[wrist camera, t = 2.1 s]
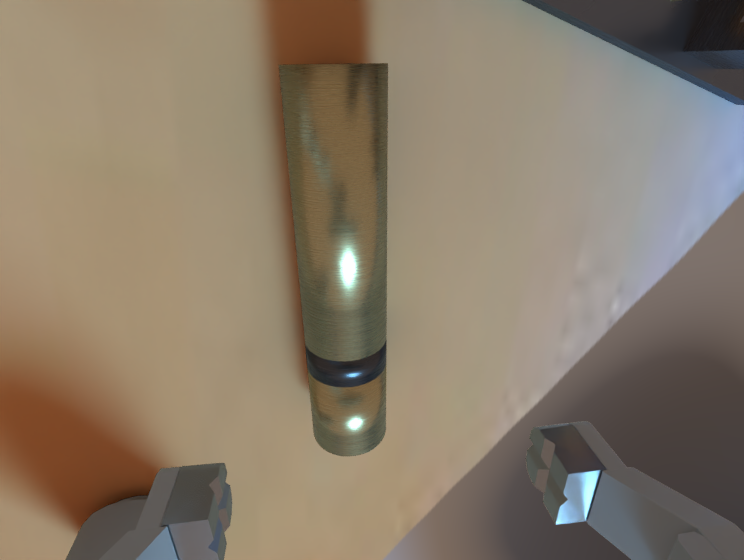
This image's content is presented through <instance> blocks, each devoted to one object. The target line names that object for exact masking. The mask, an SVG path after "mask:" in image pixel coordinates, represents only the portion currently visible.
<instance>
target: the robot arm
mask: <svg viewBox="0 0 744 560" xmlns="http://www.w3.org/2000/svg"><path fill="white" fill-rule="evenodd" d="M530 440H531V441H532V443H533V445H532V446H531V447H530V448H529V449H528V450H527V455H526V464H527V470H528V473H529V476H530V479H531V481H532V483H533V484H534V486H535V487H536V488H538V489H539V490H540V491H542V492H543V493H544V497H543V503H544V505H545V506H546V508H547V510H548V512H549V513H550V515H551V517H552V519H553V521H554V522H555V524H565V523H573V522H583V521H587V523H588V524H589V525H590V526H591V527H593V528H594V529H595V530H596V531H598V532H599V533H600V534H601V535H602V536H604V537H605V538H606V539H607V540H608V541H610V542H611V543H612V544H613V545H615V546H616V547H617V548H618V549H619V550H621V551H622V552H623V553H624V554H625V555H627V556H628V557H629V558H630V559H632V560H744V533H743V532H742V531H741V530H740V529H739V528H738V527H737V526H736V525H735V524H734V523H732V522H730V521H728V520H726V519H725V518H723V517H721V516H719V515H718V514H716V513H714V512H712V511H710V510H709V509H707V508H705V507H703V506H701V505H700V504H698V503H696V502H694V501H692V500H690V499H689V498H687V497H685V496H683V495H681V494H680V493H678V492H676V491H674V490H672V489H671V488H669V487H667V486H665V485H663V484H662V483H660V482H658V481H656V480H655V479H653V478H651V477H649V476H647V475H646V474H644V473H642V472H640V471H638V470H637V469H635V468H633V467H629V468H627V467H626V466H625V465H624V463H623V462H622V461H621V460H620V459H619V457H618V456H617V455H616V453H615V452H614V451H613V450H612V449H611V447H610V446H609V445H608V444H607V443H606V441H605V440H604V439H603V438H602V436H601V435H600V434H599V433H598V432H597V430H596V429H595V428H594V427H593V425H592V424H590V423H589V422H587V421H583V422H574V423H568V424H567V423H564V424H556V425H548V426H541V427H534V428H533V429H532V430H531V433H530ZM226 476H227V470H226V466H225V463H214V464H202V465H191V466H182V467H172V468H161V469H160V471H159V472H158V473H157V474H156V477H155V479H154V482H153V485H152V487H151V490H150V492H149V495H148V498H147V500H146V503H145V505H144V508H143V511H142V513H141V516H140V519H139V521H138V524H137V526H136V529H135V530H132V531H128V532H127V533H126V534H125V535H124V536H123V537H122V538H121V539H120V540H119V541H118V542H117V543H115V544H114V545H113V546H112V547H111V548H110V549H109V550H108V551H107V552H106V553H105V554H104V555H103V556H102V557H101V558H100V559H99V560H224V556H225V550H226V545H227V543H226V538H225V534H224V532H225V531H226V530H227V528H228V527H229V526H230V521H231V515H232V494H231V488H230V485H229V484H227V483H226Z"/></svg>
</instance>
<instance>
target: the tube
mask: <svg viewBox="0 0 744 560" xmlns="http://www.w3.org/2000/svg"><path fill="white" fill-rule="evenodd" d="M279 75H280V85H281V96H282V106H283V117H284V127H285V138H286V148H287V159H288V169H289V180H290V190H291V201H292V211H293V222H294V232H295V243H296V253H297V264H298V274H299V285H300V295H301V306H302V316H303V327H304V337H305V348H306V358H307V369H308V379H309V390H310V400H311V411H312V421H313V432H314V437H315V439H316V441H317V443H318V444H319V445H320V446H321V447H322V448H323V449H324V450H326V451H328V452H330V453H332V454H335V455H339V456H356V455H361V454H364V453H366V452H369V451H370V450H372V449H374V448H375V447H376V446H377V445H378V444H379V443H380V442H381V441H382V439H383V437H384V435H385V432H386V323H387V142H388V63H378V64H291V65H279Z"/></svg>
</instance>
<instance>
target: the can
mask: <svg viewBox="0 0 744 560" xmlns="http://www.w3.org/2000/svg"><path fill="white" fill-rule="evenodd" d="M147 498H148V496H135V497H131V498H127V499H123V500H120V501H119V502H117V503H114V504H110V505H107V506H106V507H104V508H102V509H100V510H98V511H96V512H95V513H93V514H92V515H91V516H90V517H89V518H88V519H87V520H86V521H85V522H84V523H83V525H82V526H81V528H80V531H79V533H78V535H77V537H76V539H75V541H74V543H73V545H72V547H71V549H70V551H69V554H68V556H67V558H66V560H99V559H100V558H101V557H102V556H103V555H104V554H105V553H106V552H107V551H108V550H109V549H110V548H111V547H112V546H113V545H114V544H115V543H117V542H118V541H119V540H120V539H121V538H122V537H123V536H124V535H125V534H126V533H127V532H128V531H132V530H135V529H136V526H137V524H138V521H139V519H140V516H141V513H142V511H143V508H144V505H145V503H146V500H147Z"/></svg>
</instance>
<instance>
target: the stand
mask: <svg viewBox="0 0 744 560" xmlns="http://www.w3.org/2000/svg"><path fill="white" fill-rule="evenodd" d="M523 1H525V2H527V3H529V4H531V5H533V6H535V7H537V8H539V9H541V10H543V11H545V12H547V13H549V14H551V15H553V16H555V17H558V18H560V19H562V20H564V21H566V22H568V23H570V24H572V25H574V26H576V27H578V28H580V29H582V30H584V31H586V32H588V33H590V34H592V35H595V36H597V37H599V38H601V39H603V40H605V41H607V42H609V43H611V44H613V45H615V46H617V47H619V48H621V49H623V50H625V51H627V52H629V53H632V54H634V55H636V56H638V57H640V58H642V59H644V60H646V61H648V62H650V63H652V64H654V65H656V66H658V67H660V68H662V69H664V70H666V71H669V72H671V73H673V74H675V75H677V76H679V77H681V78H683V79H685V80H687V81H689V82H691V83H693V84H695V85H697V86H699V87H701V88H704V89H706V90H708V91H710V92H712V93H714V94H716V95H718V96H720V97H722V98H724V99H726V100H728V101H730V102H732V103H734V104H736V105H744V0H523Z"/></svg>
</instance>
